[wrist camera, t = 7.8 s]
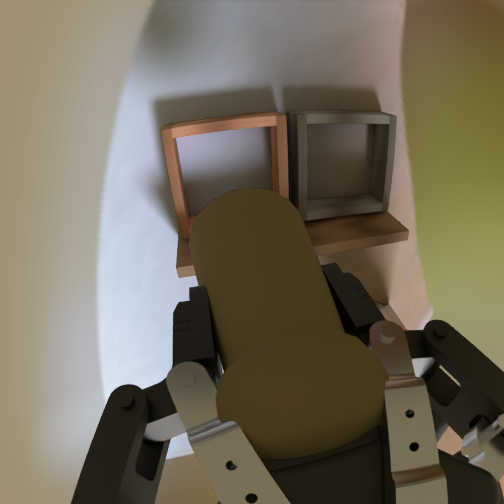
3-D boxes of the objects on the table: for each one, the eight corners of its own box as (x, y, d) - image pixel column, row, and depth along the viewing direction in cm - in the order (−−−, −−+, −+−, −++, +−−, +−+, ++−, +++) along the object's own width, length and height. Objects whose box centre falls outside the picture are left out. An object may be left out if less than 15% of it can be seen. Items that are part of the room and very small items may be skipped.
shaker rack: (385, 112, 24) (424, 124, 19) (377, 212, 31) (407, 240, 26) (159, 126, 22) (147, 140, 17) (180, 240, 28) (178, 277, 23)
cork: (322, 252, 16) (426, 427, 7) (232, 305, 17) (273, 493, 8) (269, 163, 13) (420, 367, 4) (164, 234, 14) (150, 474, 5)
